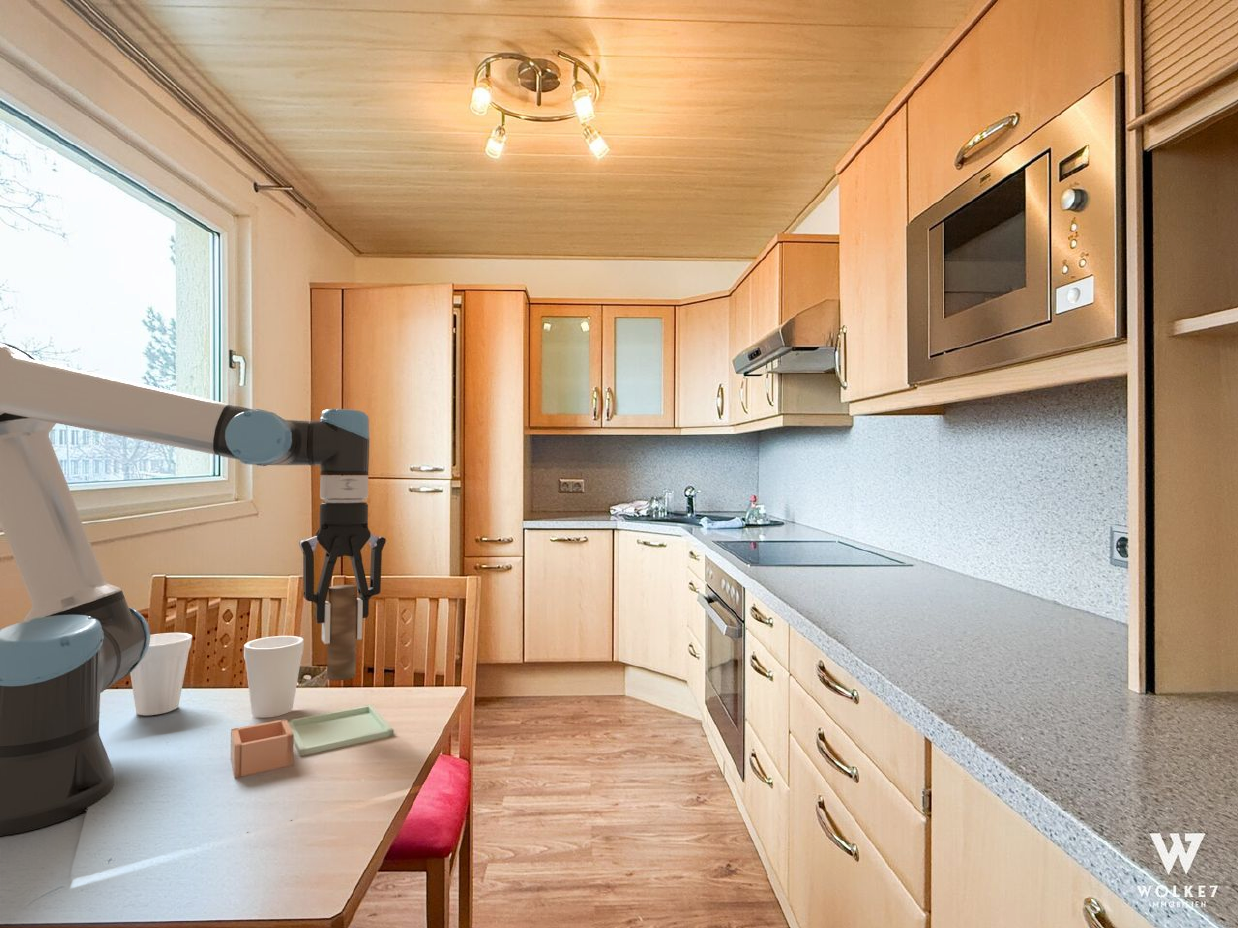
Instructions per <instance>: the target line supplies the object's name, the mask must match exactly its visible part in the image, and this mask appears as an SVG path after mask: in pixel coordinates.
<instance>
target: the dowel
mask: <svg viewBox="0 0 1238 928" xmlns="http://www.w3.org/2000/svg"><path fill="white" fill-rule="evenodd" d="M357 598H358V589H357V584H356V585H354V584H338V585H333V586H329V590H328V600H327V601H328V602H329V603H330V643H329V644H327V660H326V661H327V663H326V664H327V666H326V669H327V670H326V676H327V677H326V679H327V680H328V681H333V682H335V681H336V682H337V681H346V680H350V679H352V678H355V677H356V676H357V675H356V672H357V671H356V670H357V667H356V666H357V662H356V661H357V639H356V621H357Z"/></svg>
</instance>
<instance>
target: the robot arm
mask: <svg viewBox="0 0 1238 928" xmlns="http://www.w3.org/2000/svg"><path fill="white" fill-rule="evenodd" d="M320 416H321V417H320V418H319V420H310V421H309V420H294V419H284V418H282V417H281V416H280V415H278V414H276V413H274V412H271V411H268V410H264V409H258V408H257V409H252V408H248V407H244V406H240V405H239V406H237V405H233V404H229V403H225V402H221V401H218V400H213V399H212V400H211V399H208V398H204V397H199V396H196V395H190V394H187V393H182V392H177V391H173V390H168V389H165V388H158V387H155V386H150V385H147V384H141V383H137V382H132V381H127V380H123V379H120V378H116V377H110V376H105V375H101V374H97V373H93V372H87V371H84V370H78V369H76V368H75V369H74V368H70V367H66V366H63V365H56V364H52V363H48V362H44V361H41V360H40V359H38V358H36V356H33V355H31V354H30V353H28V352H26V350H23V349H21V348H19V347H16V346H15V345H12V344H9V343H5V342H4V343H3V342H0V526H1V529H2V531H3V534H4V537H5V538H6V541H7V545H8V547H9V548H10V552H11V554H12V556H13V559H14V561H15V563H16V567H17V570H18V571H19V573H20V577H21V579H22V581H23V584H24V586H25V587H24V588H25V589H26V591H27V594H28V596H29V599H30V602H31V608H30V610H29V611H28V613H27V614H26V616H25V618H24V619H23V621H21V622H16V623H15V624H11V625H9V626H6V627H3V628H1V629H0V836H7V835H8V836H9V835H13V834H19V833H23V832H24V833H26V832H29V831H32V830H37V829H42V828H44V827H47V826H51V825H54V824H57V823H60V822H63V821H66V820H68V819H70V818H74V817H75V816H77V815H80V814H82V813H85V812H86V811H88V808H89V807H91V806H93V805H94V804H97V803H98V802H100V801H101V800H102V799H104V798H105V797H106V796H108V795H109V794H110V792H111V791H112V790H113V788H114V782H115V781H114V780H115V772H114V768H113V765H112V763H111V761H110V758H109V756H108V752H107V749H106V748H105V746H104V743H103V740H102V739H101V736H100V714H101V712H100V710H101V709H100V708H101V693H103V692H104V691H105V690H107V689H109V688H110V687H111V686H113V685H114V684H116V683H118V682H120V681H122V680H123V679H124V678H126V677H127V676H129V675H130V673H131V672H132V671H133V670H134V669H135V667H136V666H137V665H138V664H139V662H140V661H141V660H142V659H143V657H144V656H145V654H146V652H147V650H148V647H149V643H150V635H151V632H150V631H151V630H150V626H149V623H148V621H147V620H146V619H145V617H144V616H143V614H141V613H140V612H139V611H138V610H136V609H134V608H132V607H130V606H129V605H128V603H127V600H126V597H125V595H124V593H123V590H122V588H121V587H119V586H116V585H114V584H110V583H108V582H106V581H105V578H104V575H103V572H102V570H101V567H100V565H99V562H98V560H97V557H96V555H95V553H94V550H93V547H92V544H91V542H90V539H89V537H88V534H87V531H86V529H85V526H84V524H83V521H82V519H81V518H82V517H81V516H80V514H79V510H78V508H77V506H76V503H75V500H74V498H73V496H72V492H71V491H70V487H69V485H68V482H67V479H66V477H65V474H64V472H63V470H62V466H61V464H60V461H59V459H58V456H57V454H56V451H55V449H54V446H53V444H52V441H51V438H50V432H51V431H52V430H53V428H54V427H55V426H56V424H59V425H64V426H69V427H74V428H80V429H85V430H90V431H94V432H100V433H104V434H108V435H114V436H120V437H125V438H130V439H135V440H139V441H145V442H149V443H154V444H160V445H165V446H170V447H175V448H180V449H184V450H185V449H186V450H190V451H193V452H194V451H195V452H200V453H205V454H209V455H211V454H212V455H216V456H220V457H222V458H228V459H234V460H239V461H240V462H241V463H242V464H244V465H253V466H258V467H259V466H262V467H267V466H310V467H313V466H319V467H320V474H319V475H320V483H319V485H320V487H319V498H320V499H321V500H323V502H321V503H320V504H319V524H318V525H319V526H318V527H319V528H318V530H317V532H316V534H315V536H312V537H310V538H308V539H301V540H300V541H299V543H298V544H299V547H300V548H299V549H300V550H301V552H302V559H303V560H302V579H303V580H302V581H303V582H302V584H303V585H302V587H303V589H302V590H303V591H302V594H303V595H302V596H303V599H305V600H306V601H307V602H312V603H315V607H314V608H315V615H314V618H315V621H316V623H317V624H321V641H322V643H323V644H324V645H328V644H329V643H330V603H329V602H328V600H327V598H328V594H329V587H331V585H330V584H331V580H332V577H333V574H334V569H335V566H336V563H337V561H338V558H342V557H344V556H346V557H349V558H350V559H349V560H350V561H351V565H352V570H353V575H354V578H355V579H354V580H355V584H356V586H357V594H358V596H359V597H357V621H356V641H357V640H363V619H366V618H368V617H369V607H370V605H369V604H370V600H371V597H373V596H376V595H380V593H381V589H382V587H381V586H382V584H381V583H382V559H383V558H382V556H383V549H384V547H385V544H386V542H387V540H386V538H385V537H383V536H377V535H375V534H372V533H371V530H370V529H369V526H368V525H369V504H368V503H367V502H365V500H366V499H369V469H370V468H369V466H370V462H369V461H370V440H371V439H370V424H369V423H370V419H369V416H368V415H367V413H366V412H364V411H361V410H356V409H347V408H341V409H340V408H329V409H324V410H322V412H321V415H320ZM368 541H369V547H370V548H371V551H370V569H369V570H370V571H369V572H370V574H369V587H368V582H367V579H366V578H367V577H366V574H365V568H364V565H363V556H362V553H361V551H362V549H363V548H364V546H365V545H366V544H367V542H368ZM317 544H319V545H320V546H321V547H322V549H324V551H325V555H324V562H323V566H322V569H321V575H320V578H319V581H318V586H317V590H316V593H315V561H314V560H315V557H314V556H315V555H314V551H316V549H317Z"/></svg>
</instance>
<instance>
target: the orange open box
mask: <svg viewBox="0 0 1238 928" xmlns="http://www.w3.org/2000/svg"><path fill="white" fill-rule="evenodd" d="M293 741H294V734H293V732H292V730H291V728H290V726H289V724H288V722H287V718H284V719H280V720H273V721H267V722H263V723H258V724H253V725H252V724H251V725H245V726H241V727H236V728H231V731H230V764H231V768H232V769H231V770H232V772H233V777H234V779H237V778H243V777H248V776H251V775H257V774H260V773H264V772H265V773H266V772H269V771H273V770H277V769H281V768H282V769H283V768H286V767H292V766H294V743H293Z"/></svg>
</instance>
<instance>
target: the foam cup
mask: <svg viewBox="0 0 1238 928" xmlns="http://www.w3.org/2000/svg"><path fill="white" fill-rule="evenodd" d="M304 640H305V639H304V638H303V637H301V636H295V635H277V636H276V635H275V636H267V637H261V638H257V639H253V640H250V641H247V642H246V643H245V644H244V645H243V659H244V661H245V670H246V676H247V677H246V678H247V685H248V687H247V688H248V692H249V702H250V711H251V716H252V718H253V719H257V718H260V719H261V718H265V719H266V718H268V719H269V718H274V717H275V718H276V717H279V716H284V715H286V714H288V713H291V712H293V709H294V705H295V697H296V689H297V686H298V685H297V684H298V680H299V679H298V678H299V673H300V668H301V667H300V666H301V660H302V656H303V655H302V654H303V653H304V642H305V641H304Z"/></svg>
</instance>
